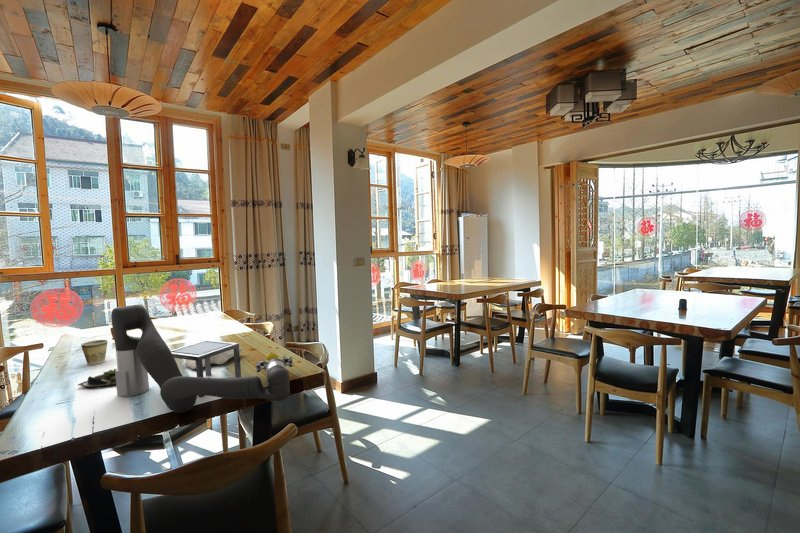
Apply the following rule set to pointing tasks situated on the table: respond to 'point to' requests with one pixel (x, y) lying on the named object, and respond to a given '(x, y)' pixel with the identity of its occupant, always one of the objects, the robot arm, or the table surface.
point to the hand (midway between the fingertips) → (273, 359)
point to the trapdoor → (201, 348)
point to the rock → (213, 359)
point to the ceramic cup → (95, 351)
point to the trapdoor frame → (207, 357)
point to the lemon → (270, 356)
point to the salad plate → (100, 380)
